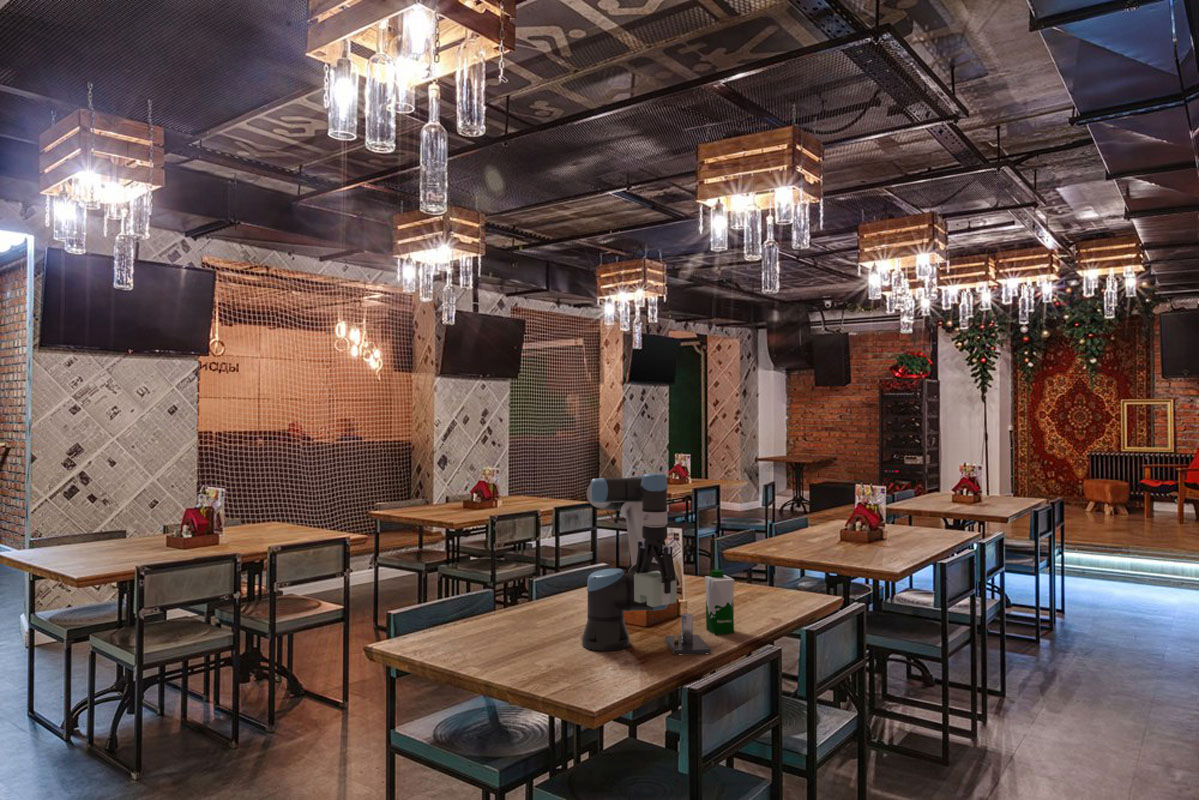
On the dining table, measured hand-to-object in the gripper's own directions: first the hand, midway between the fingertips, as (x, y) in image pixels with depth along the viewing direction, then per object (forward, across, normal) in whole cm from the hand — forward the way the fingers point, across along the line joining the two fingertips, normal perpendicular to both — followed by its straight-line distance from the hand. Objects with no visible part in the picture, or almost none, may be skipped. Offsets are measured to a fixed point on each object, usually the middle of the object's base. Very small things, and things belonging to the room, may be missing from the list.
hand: (655, 600), depth 233 cm
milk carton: (+18, -11, +37) cm, 42 cm away
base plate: (+17, -4, +16) cm, 24 cm away
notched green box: (0, 0, 0) cm, 0 cm away
